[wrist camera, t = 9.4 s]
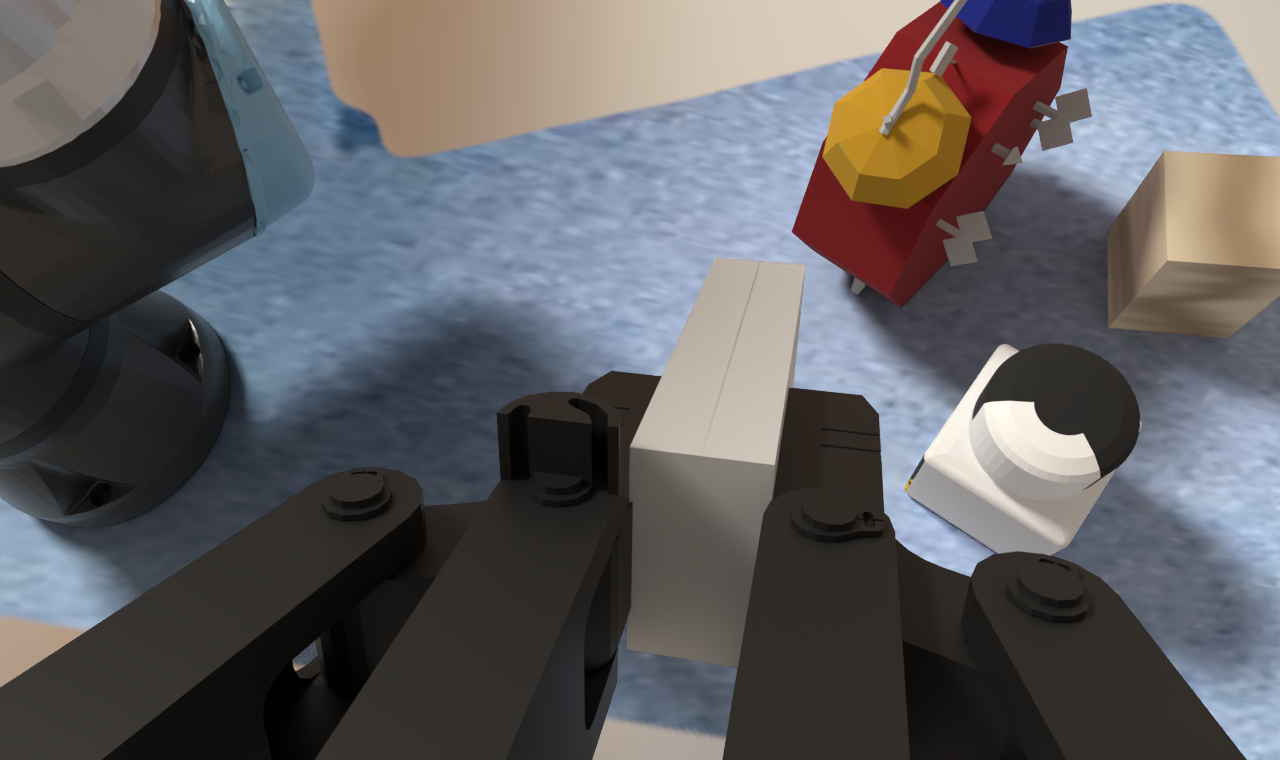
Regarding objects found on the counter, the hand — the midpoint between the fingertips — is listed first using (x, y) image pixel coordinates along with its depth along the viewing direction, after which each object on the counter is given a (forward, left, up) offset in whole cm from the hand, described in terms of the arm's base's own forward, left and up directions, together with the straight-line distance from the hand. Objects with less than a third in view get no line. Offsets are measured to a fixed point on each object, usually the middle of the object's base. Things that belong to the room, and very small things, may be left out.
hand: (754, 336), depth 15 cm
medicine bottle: (+9, +10, -34) cm, 37 cm away
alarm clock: (+1, +22, -34) cm, 41 cm away
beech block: (+14, +24, -34) cm, 44 cm away
